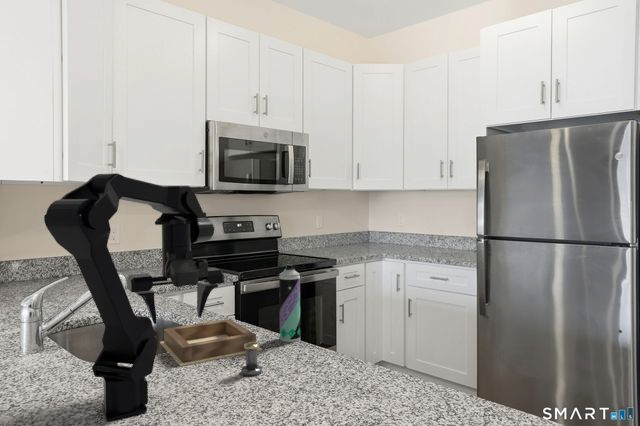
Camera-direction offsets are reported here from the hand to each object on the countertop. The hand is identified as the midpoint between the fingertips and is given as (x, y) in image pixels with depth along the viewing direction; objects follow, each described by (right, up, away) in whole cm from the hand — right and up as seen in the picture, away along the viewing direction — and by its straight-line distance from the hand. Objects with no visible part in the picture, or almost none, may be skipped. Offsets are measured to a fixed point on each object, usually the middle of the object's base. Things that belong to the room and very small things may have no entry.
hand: (177, 320), depth 93 cm
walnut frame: (+2, -11, +20) cm, 23 cm away
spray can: (+22, -12, +26) cm, 36 cm away
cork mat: (+2, -12, +20) cm, 23 cm away
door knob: (+15, -12, +3) cm, 19 cm away
